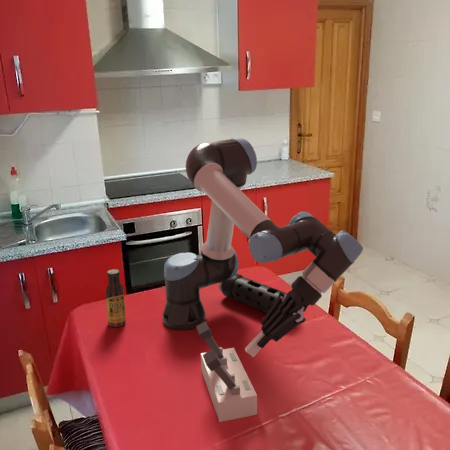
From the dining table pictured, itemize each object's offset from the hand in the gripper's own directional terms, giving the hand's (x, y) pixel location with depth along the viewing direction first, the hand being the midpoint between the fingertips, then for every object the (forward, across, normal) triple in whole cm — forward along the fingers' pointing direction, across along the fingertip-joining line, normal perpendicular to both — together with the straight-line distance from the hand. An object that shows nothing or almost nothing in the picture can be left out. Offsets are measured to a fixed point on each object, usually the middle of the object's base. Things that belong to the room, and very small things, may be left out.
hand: (249, 352), depth 121 cm
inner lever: (+10, +13, -3) cm, 17 cm away
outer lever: (+10, 0, -4) cm, 10 cm away
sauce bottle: (+34, +52, +12) cm, 64 cm away
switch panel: (+14, +7, -8) cm, 18 cm away
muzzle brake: (0, +50, -23) cm, 55 cm away
